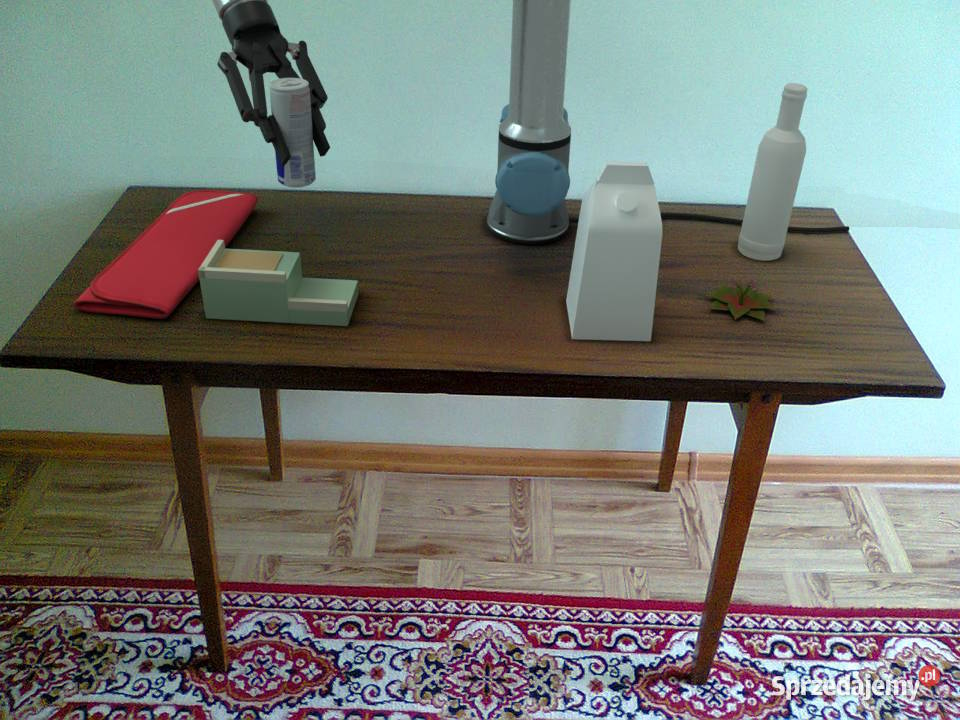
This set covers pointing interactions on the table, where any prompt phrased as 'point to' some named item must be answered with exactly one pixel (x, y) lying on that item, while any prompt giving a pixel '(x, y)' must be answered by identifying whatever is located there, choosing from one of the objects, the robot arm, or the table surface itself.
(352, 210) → the table surface
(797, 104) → the bottle
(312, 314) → the green stepped stand
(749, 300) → the lily flower
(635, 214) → the milk
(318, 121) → the robot arm
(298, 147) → the beverage can
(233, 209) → the dish drying mat
